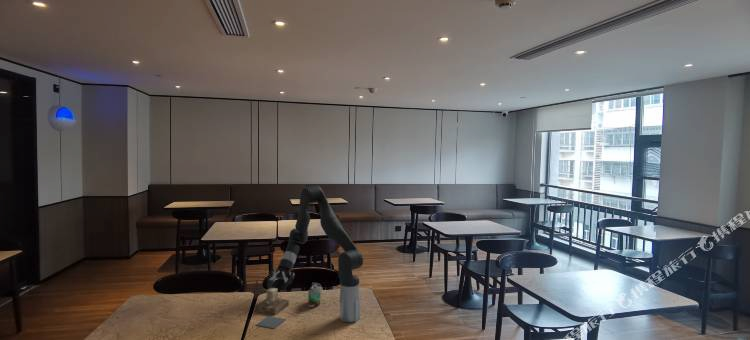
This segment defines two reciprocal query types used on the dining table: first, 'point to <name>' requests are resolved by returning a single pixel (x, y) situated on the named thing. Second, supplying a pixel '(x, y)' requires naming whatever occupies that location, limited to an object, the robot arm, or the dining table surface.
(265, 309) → the walnut eye block
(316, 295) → the food container
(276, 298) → the beech peg
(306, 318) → the dining table surface
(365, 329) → the dining table surface
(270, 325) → the blue-grey square plate
